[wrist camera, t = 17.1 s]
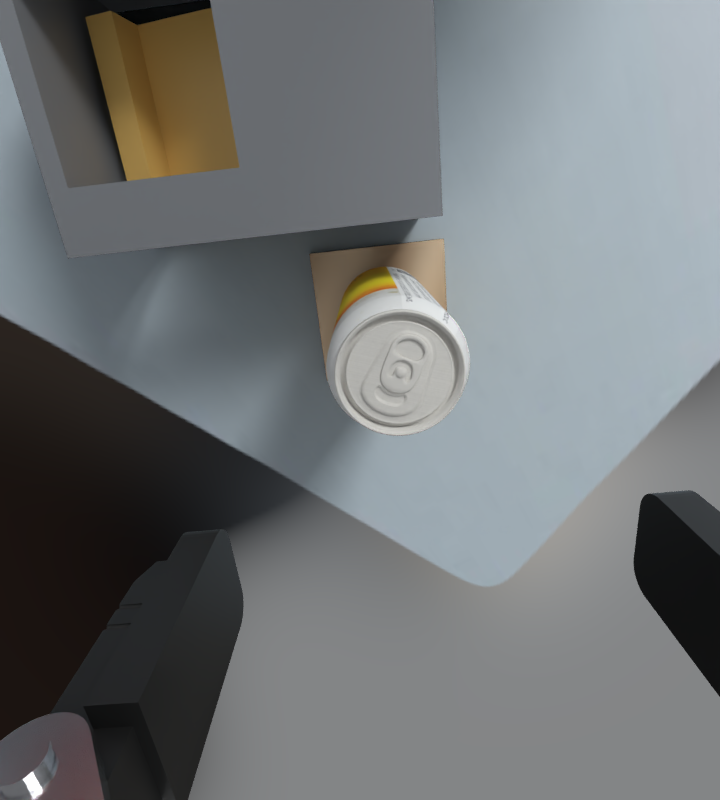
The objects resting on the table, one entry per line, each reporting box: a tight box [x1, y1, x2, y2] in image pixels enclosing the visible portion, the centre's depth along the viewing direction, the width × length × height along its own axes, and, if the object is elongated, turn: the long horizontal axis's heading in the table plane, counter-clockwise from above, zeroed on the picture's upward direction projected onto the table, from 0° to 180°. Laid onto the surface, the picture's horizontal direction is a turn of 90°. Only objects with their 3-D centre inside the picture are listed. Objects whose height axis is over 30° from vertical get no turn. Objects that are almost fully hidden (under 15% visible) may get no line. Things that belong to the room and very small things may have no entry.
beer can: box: [326, 267, 470, 436], centre depth 26 cm, size 6×6×15 cm
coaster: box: [310, 239, 447, 381], centre depth 33 cm, size 9×9×1 cm
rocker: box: [85, 8, 240, 181], centre depth 25 cm, size 14×9×3 cm, turn 96°
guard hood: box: [0, 0, 443, 258], centre depth 25 cm, size 18×14×10 cm
